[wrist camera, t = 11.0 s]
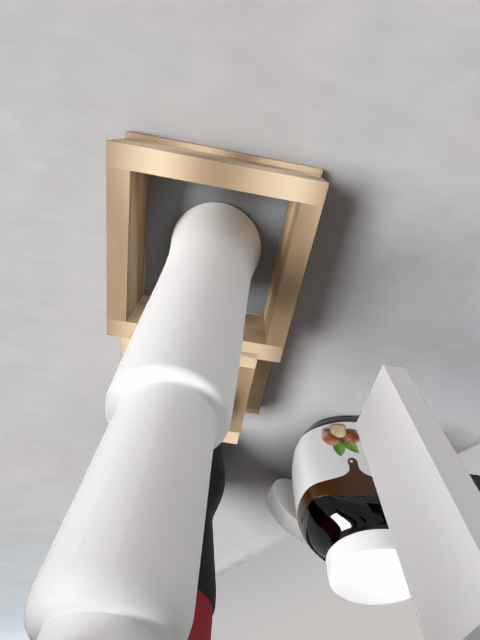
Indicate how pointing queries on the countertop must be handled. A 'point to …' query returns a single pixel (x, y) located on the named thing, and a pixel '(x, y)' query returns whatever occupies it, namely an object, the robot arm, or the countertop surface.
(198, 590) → the cola bottle
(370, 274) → the countertop surface
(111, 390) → the cosmetic bottle
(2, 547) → the countertop surface
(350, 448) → the spread jar
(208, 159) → the wooden frame
